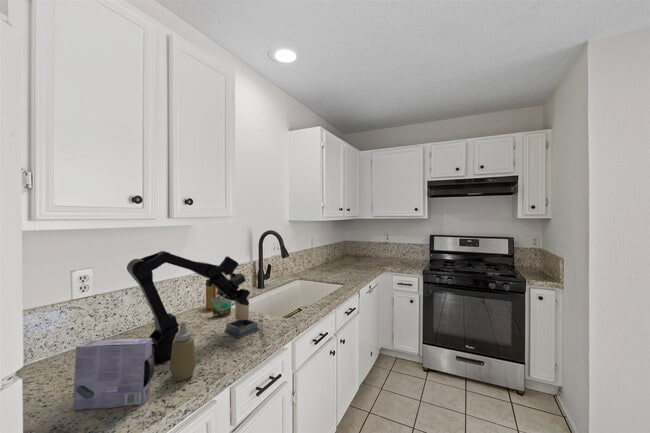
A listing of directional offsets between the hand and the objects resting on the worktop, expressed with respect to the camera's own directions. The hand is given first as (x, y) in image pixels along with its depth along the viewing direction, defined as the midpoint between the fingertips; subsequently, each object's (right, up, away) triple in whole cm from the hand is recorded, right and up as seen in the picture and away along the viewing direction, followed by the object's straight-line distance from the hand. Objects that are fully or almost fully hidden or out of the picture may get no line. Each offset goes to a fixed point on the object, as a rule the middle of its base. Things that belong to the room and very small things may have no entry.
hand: (244, 302), depth 130 cm
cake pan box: (-23, -13, -50) cm, 57 cm away
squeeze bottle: (-10, -13, -37) cm, 40 cm away
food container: (-16, -13, +19) cm, 28 cm away
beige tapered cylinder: (-1, -7, -1) cm, 7 cm away
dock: (-1, -13, -1) cm, 13 cm away
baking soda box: (-25, -12, +30) cm, 41 cm away
